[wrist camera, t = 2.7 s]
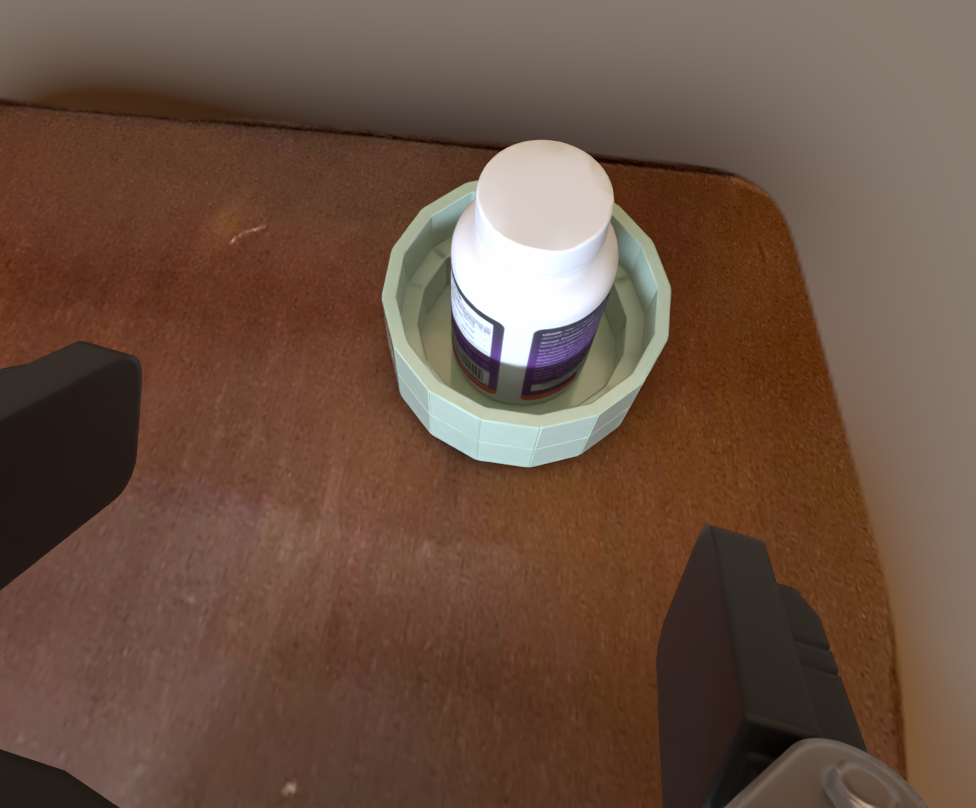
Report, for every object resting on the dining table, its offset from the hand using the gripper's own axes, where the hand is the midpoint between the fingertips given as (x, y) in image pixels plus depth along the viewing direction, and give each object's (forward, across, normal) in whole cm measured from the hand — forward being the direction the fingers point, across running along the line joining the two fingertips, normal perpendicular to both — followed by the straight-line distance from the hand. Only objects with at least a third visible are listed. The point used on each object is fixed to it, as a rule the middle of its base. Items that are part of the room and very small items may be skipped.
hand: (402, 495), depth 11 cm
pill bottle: (+21, 0, +4) cm, 21 cm away
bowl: (+21, 0, +5) cm, 22 cm away
